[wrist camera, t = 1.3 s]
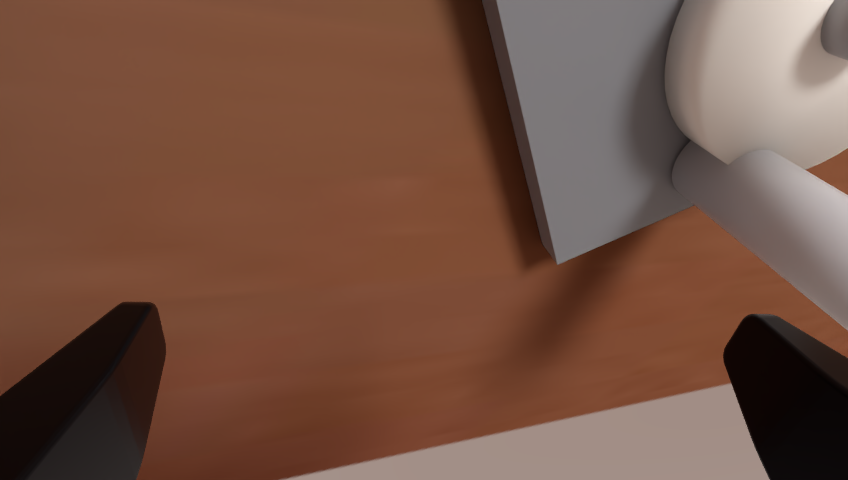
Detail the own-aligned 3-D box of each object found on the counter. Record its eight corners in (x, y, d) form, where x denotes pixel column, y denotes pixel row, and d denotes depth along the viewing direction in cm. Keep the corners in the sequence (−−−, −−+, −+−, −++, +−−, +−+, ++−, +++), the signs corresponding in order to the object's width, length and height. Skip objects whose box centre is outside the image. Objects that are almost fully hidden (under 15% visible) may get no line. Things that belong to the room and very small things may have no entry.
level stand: (542, 243, 24) (603, 327, 20) (429, -213, 14) (504, -234, 10) (881, 96, 24) (1012, 148, 20) (1010, -463, 14) (1327, -589, 10)
